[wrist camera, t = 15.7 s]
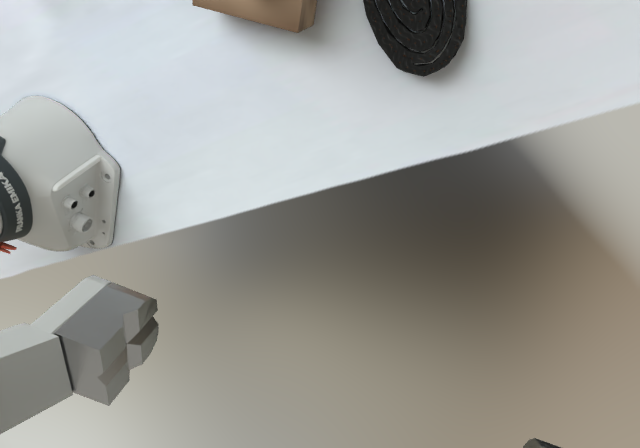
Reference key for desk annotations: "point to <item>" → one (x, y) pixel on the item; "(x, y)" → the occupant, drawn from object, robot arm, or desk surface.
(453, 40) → the hairbrush
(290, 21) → the lever base
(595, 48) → the desk surface
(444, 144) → the desk surface
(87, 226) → the robot arm
